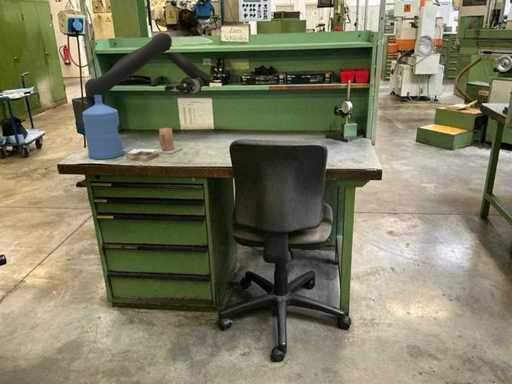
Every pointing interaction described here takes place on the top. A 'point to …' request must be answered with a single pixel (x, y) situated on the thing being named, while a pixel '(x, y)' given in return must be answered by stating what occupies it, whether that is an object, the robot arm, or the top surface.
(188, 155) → the top surface
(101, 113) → the water jug
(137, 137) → the top surface
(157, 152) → the mat
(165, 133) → the pillar candle
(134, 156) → the wooden frame
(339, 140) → the top surface
